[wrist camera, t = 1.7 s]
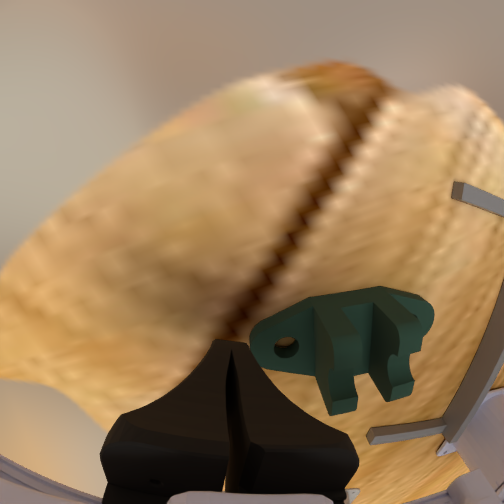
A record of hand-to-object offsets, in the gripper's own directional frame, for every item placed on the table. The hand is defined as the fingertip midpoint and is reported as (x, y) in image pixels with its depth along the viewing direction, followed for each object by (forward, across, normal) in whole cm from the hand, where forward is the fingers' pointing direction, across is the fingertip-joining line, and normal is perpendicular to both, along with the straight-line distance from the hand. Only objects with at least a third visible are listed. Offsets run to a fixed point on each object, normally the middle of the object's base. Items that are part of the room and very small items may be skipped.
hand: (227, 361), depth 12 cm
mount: (+5, -7, 0) cm, 8 cm away
